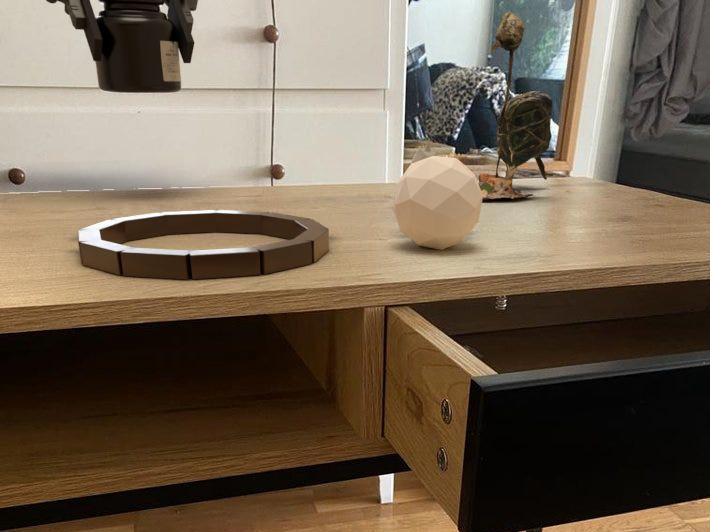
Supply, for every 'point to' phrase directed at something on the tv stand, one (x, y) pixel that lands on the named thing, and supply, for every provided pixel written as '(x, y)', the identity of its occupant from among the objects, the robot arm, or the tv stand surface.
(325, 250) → the walnut ring
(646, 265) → the tv stand surface
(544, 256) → the tv stand surface
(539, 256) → the tv stand surface
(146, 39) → the ink bottle
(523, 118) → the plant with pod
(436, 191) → the geometric ball
